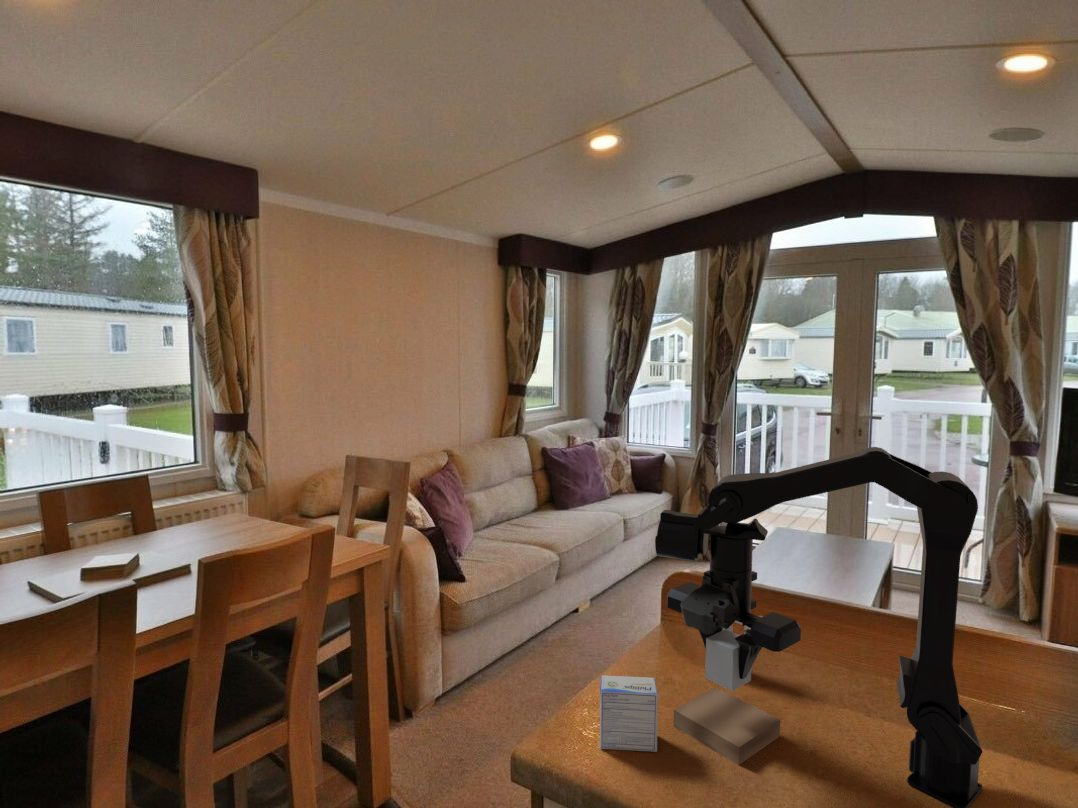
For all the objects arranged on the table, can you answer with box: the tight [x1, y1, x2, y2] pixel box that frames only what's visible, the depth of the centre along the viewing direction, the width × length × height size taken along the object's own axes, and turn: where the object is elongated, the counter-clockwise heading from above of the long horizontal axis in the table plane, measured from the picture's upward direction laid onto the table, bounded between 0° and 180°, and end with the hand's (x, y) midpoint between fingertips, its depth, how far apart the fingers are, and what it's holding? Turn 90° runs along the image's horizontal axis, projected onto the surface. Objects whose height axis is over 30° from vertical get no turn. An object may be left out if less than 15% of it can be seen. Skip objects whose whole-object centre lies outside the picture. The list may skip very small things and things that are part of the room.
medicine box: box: [599, 675, 659, 753], centre depth 88 cm, size 8×4×9 cm, turn 84°
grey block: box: [704, 629, 752, 692], centre depth 90 cm, size 4×4×6 cm
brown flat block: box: [673, 687, 781, 766], centre depth 91 cm, size 11×10×3 cm
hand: (728, 671), depth 90 cm, fingers closed on grey block, 4 cm apart
